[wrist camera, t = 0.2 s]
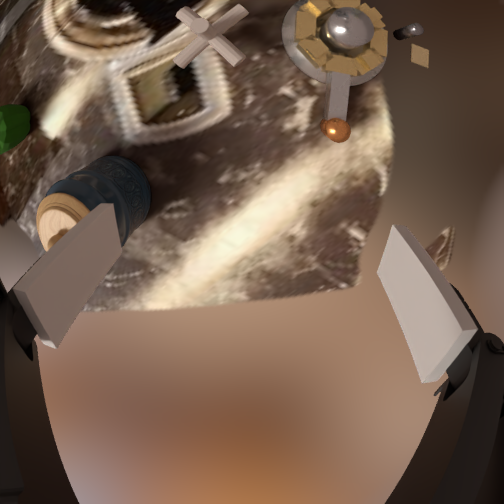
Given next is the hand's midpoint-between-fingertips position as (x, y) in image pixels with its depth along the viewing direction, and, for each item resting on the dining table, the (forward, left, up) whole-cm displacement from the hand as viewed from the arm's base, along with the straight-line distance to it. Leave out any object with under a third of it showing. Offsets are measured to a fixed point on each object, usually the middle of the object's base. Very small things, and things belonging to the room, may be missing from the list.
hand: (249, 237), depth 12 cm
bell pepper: (-7, -43, -27) cm, 51 cm away
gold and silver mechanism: (-16, +12, -26) cm, 33 cm away
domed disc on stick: (-11, +8, -25) cm, 29 cm away
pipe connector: (-14, -6, -27) cm, 31 cm away
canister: (+8, -22, -27) cm, 36 cm away
